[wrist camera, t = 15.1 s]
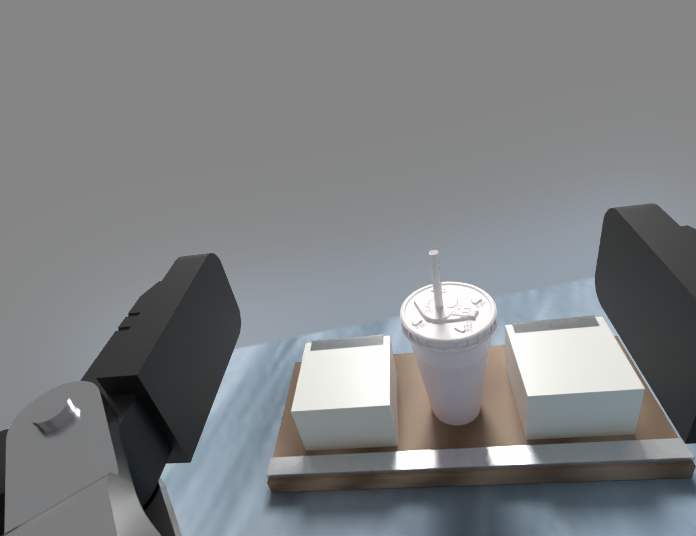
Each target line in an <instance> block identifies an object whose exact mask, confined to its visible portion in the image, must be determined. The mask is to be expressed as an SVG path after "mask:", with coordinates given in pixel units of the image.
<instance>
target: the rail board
mask: <svg viewBox="0 0 696 536" xmlns="http://www.w3.org/2000/svg"><path fill="white" fill-rule="evenodd" d="M694 458H695V457H694V455H693V454H692V452H691V450H690V449H689V447H688V445H687V444H685V443H684V441H683V440H682V438H678V436H677V435H676V433H675V431H674V430H673V428H672V426H671V425H670V423H669V421H668V420H667V418H666V417H665V415H664V413H663V412H662V410H661V408H660V407H659V405H658V403H657V402H656V400H655V398H654V397H653V395H652V393H651V392H650V390H649V388H648V387H647V385H646V383H645V382H644V380H643V378H642V377H641V375H640V373H639V372H638V370H637V368H636V367H635V365H634V363H633V362H632V360H631V359H630V357H629V355H628V354H627V352H626V350H625V349H624V347H623V345H622V344H621V342H620V340H619V339H618V337H617V336H613V334H612V332H611V331H610V329H609V327H608V326H607V324H606V322H605V321H604V319H603V317H595V316H584V317H573V318H562V319H551V320H540V321H529V322H518V323H512V325H505V345H502V346H490V347H489V352H488V359H487V366H486V373H485V380H484V387H483V394H482V401H481V408H480V412H479V415H478V416H477V417H476V418H475V419H474V420H473V421H472V422H470V423H468V424H465V425H449V424H446V423H444V422H442V421H440V420H439V419H438V418H437V417H436V416H435V415H434V413H433V410H432V407H431V404H430V401H429V398H428V395H427V392H426V389H425V385H424V382H423V379H422V376H421V373H420V370H419V367H418V364H417V361H416V358H415V354H414V353H405V354H393V351H392V345H391V340H390V336H384V335H373V336H362V337H351V338H340V339H329V340H318V341H312V343H306V345H305V350H304V354H303V359H302V362H296V363H295V367H294V371H293V375H292V379H291V384H290V388H289V392H288V396H287V401H286V405H285V409H284V413H283V418H282V422H281V426H280V430H279V435H278V439H277V443H276V448H275V452H274V456H273V458H270V461H269V465H268V470H267V474H266V476H267V478H268V482H267V484H268V486H269V488H270V490H271V492H295V491H324V490H352V489H381V488H410V487H439V486H467V485H496V484H525V483H554V482H582V481H611V480H640V479H668V478H692V475H693V472H694V470H695V467H696V466H695V465H694V463H693V461H694Z"/></svg>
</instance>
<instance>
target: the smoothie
mask: <svg viewBox="0 0 696 536" xmlns="http://www.w3.org/2000/svg"><path fill="white" fill-rule="evenodd" d="M429 256H430V266H431V275H432V285H428V286H425V287H422V288H421V289H419V290H417V291H415V292H414V293H412V294H411V295H410V296H409V297H408V298H407V299H406V300H405V301H404V303H403V304H402V307H401V310H400V317H401V327H402V330H403V333H404V335H405V336H406V337H407V338H408V340H409V341H410V342H411V346H412V349H413V351H414V354H415V358H416V361H417V364H418V367H419V370H420V373H421V376H422V379H423V382H424V385H425V389H426V392H427V395H428V398H429V401H430V404H431V407H432V410H433V413H434V415H435V416H436V417H437V418H438V419H439V420H440V421H442V422H444V423H446V424H449V425H465V424H468V423H470V422H472V421H473V420H474V419H475V418H476V417H477V416H478V415H479V412H480V408H481V401H482V394H483V387H484V380H485V373H486V366H487V359H488V352H489V346H490V339H491V336H492V335H493V333H494V332H495V330H496V327H497V323H498V318H497V310H496V304H495V302H494V300H493V299H492V297H491V296H490V295H489V294H487V293H486V292H485V291H484V290H482V289H480V288H478V287H475V286H473V285H470V284H465V283H460V282H442V283H441V277H440V266H439V256H438V251H435V250H433V251H430V252H429Z"/></svg>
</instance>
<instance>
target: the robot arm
mask: <svg viewBox="0 0 696 536" xmlns="http://www.w3.org/2000/svg"><path fill="white" fill-rule="evenodd" d="M595 287H596V293H597V297H598V300H599V302H600V304H601V306H602V308H603V310H604V311H605V313H606V315H607V316H608V318H609V319H610V321H611V323H612V324H613V326H614V328H615V329H616V331H617V333H618V334H619V336H620V338H621V339H622V341H623V343H624V344H625V346H626V347H627V349H628V351H629V352H630V354H631V356H632V357H633V359H634V361H635V362H636V364H637V366H638V367H639V369H640V370H641V372H642V374H643V375H644V377H645V379H646V380H647V382H648V384H649V385H650V387H651V389H652V390H653V392H654V394H655V395H656V397H657V398H658V400H659V402H660V403H661V405H662V407H663V408H664V410H665V412H666V413H667V415H668V417H669V418H670V420H671V421H672V423H673V425H674V426H675V428H676V430H677V431H678V433H679V435H680V436H681V438H682V440H683V441H684V443H685V444H690V443H696V229H694V228H692V227H690V226H679V225H678V224H677V223H676V222H675V221H674V220H673V219H672V218H671V217H670V216H669V215H668V214H667V213H665V212H664V211H663V210H662V209H661V208H660V207H659V206H658V205H656V204H643V205H634V206H626V207H617V208H611V209H609V210H608V211H607V212H606V214H605V216H604V221H603V227H602V233H601V239H600V246H599V253H598V259H597V266H596V273H595ZM128 314H129V316H128V317H125V319H124V320H123V322H122V323H121V324H120V326H119V327H118V328H119V330H118V331H115V333H114V334H113V336H112V337H111V338H110V340H109V341H108V343H107V344H106V345H105V347H104V348H103V350H102V351H101V352H100V354H99V355H98V357H97V358H96V359H95V361H94V362H93V364H92V365H91V367H90V368H89V369H88V371H87V372H86V373H85V375H84V376H83V378H82V379H81V381H75V382H70V383H66V384H63V385H60V386H58V387H56V388H53V389H51V390H49V391H47V392H46V393H44V394H43V395H41V396H39V397H38V398H36V399H35V400H34V401H33V402H31V403H30V404H29V405H28V406H26V407H25V409H23V410H22V411H21V412H20V413H19V414H18V416H17V417H16V418H15V419H14V421H13V422H12V424H11V426H10V427H9V429H6V430H3V431H1V432H0V536H182V535H181V532H180V528H179V525H178V522H177V519H176V516H175V513H174V510H173V507H172V504H171V501H170V498H169V495H168V492H167V489H166V486H165V484H164V482H163V481H162V479H161V478H160V476H161V474H162V471H163V469H164V467H165V464H166V463H189V462H191V460H192V457H193V454H194V452H195V449H196V447H197V444H198V441H199V439H200V436H201V434H202V431H203V428H204V426H205V423H206V420H207V418H208V415H209V413H210V410H211V407H212V405H213V402H214V400H215V397H216V394H217V392H218V389H219V386H220V384H221V381H222V379H223V376H224V373H225V371H226V368H227V366H228V363H229V360H230V358H231V355H232V353H233V350H234V347H235V345H236V342H237V339H238V337H239V334H240V328H241V318H240V311H239V308H238V305H237V302H236V300H235V297H234V295H233V292H232V289H231V287H230V285H229V282H228V279H227V277H226V274H225V271H224V269H223V266H222V264H221V261H220V259H219V258H218V257H217V256H216V255H215V254H213V253H209V254H200V255H192V256H183V257H179V258H178V259H177V260H176V261H175V262H174V264H173V265H172V267H171V268H170V270H169V271H168V273H167V274H166V276H165V277H164V279H163V280H162V281H159V282H158V283H156V284H155V285H154V286H153V287H152V288H150V289H149V290H148V291H147V292H145V293H144V294H143V295H142V296H140V298H139V299H138V301H137V302H136V303H135V305H134V306H133V308H132V309H131V310H130V312H129V313H128Z"/></svg>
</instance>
